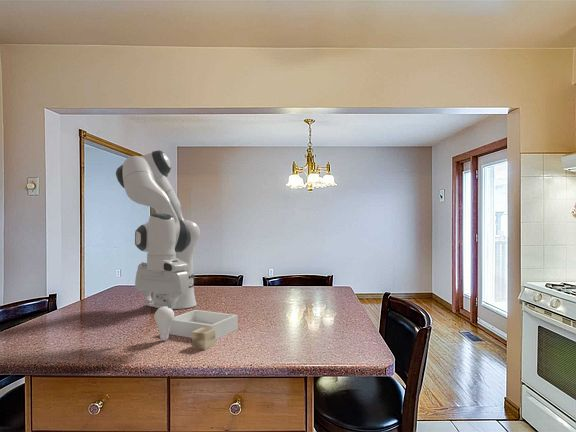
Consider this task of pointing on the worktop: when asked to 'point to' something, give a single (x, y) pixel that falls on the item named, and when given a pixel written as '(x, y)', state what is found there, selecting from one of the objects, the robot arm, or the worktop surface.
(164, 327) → the lightbulb
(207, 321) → the tote
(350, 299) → the worktop surface
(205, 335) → the maple cube
